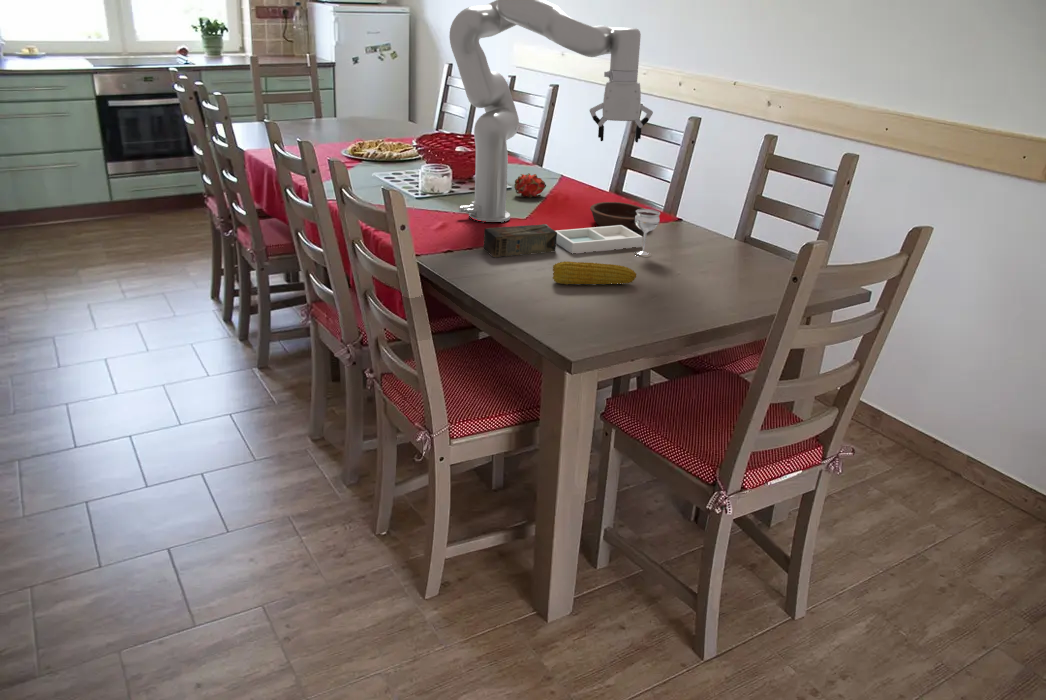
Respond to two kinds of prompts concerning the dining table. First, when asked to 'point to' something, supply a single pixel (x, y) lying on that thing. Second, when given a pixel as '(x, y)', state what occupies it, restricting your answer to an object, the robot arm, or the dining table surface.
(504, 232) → the beverage carton
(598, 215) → the dish
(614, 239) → the white divided tray
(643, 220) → the wineglass
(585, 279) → the food
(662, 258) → the dining table surface
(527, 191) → the dragon fruit
